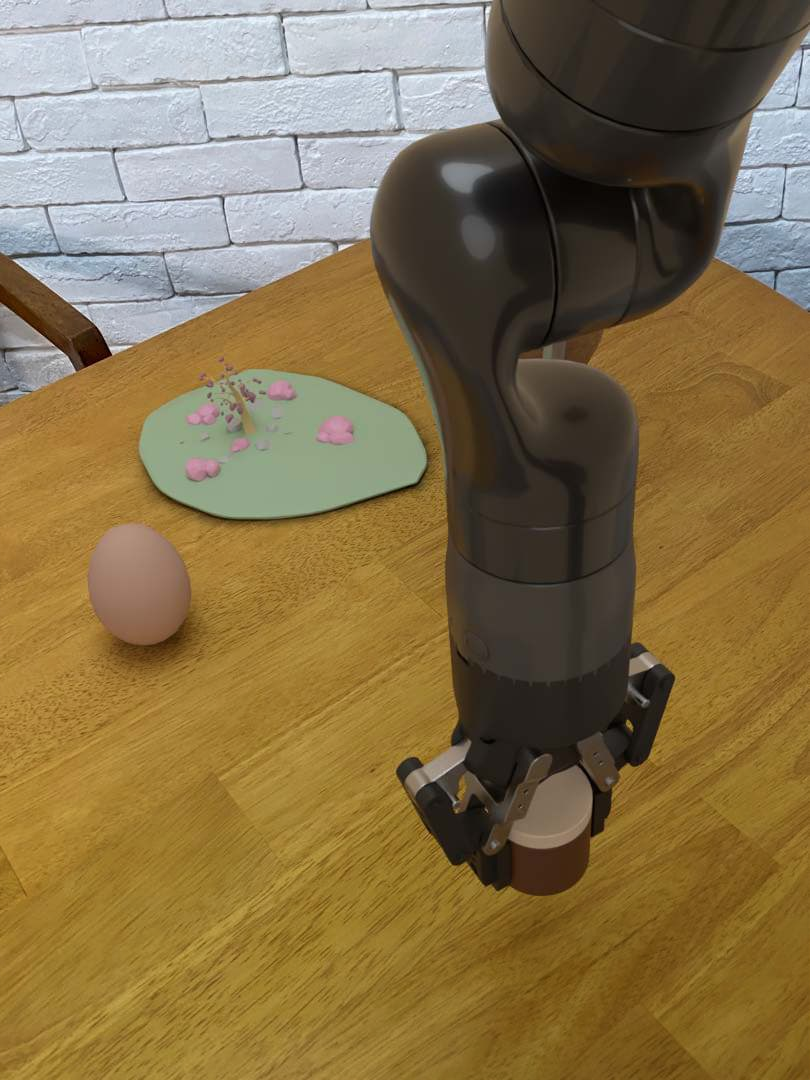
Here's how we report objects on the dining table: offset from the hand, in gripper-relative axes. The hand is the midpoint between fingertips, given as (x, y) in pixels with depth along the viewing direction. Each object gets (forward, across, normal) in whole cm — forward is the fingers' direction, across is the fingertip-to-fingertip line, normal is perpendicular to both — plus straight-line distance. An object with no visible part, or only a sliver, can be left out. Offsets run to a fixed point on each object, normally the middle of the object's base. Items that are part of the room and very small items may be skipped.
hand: (539, 847), depth 57 cm
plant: (+7, -8, -48) cm, 50 cm away
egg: (+7, +10, -33) cm, 35 cm away
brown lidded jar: (0, 0, 0) cm, 0 cm away
